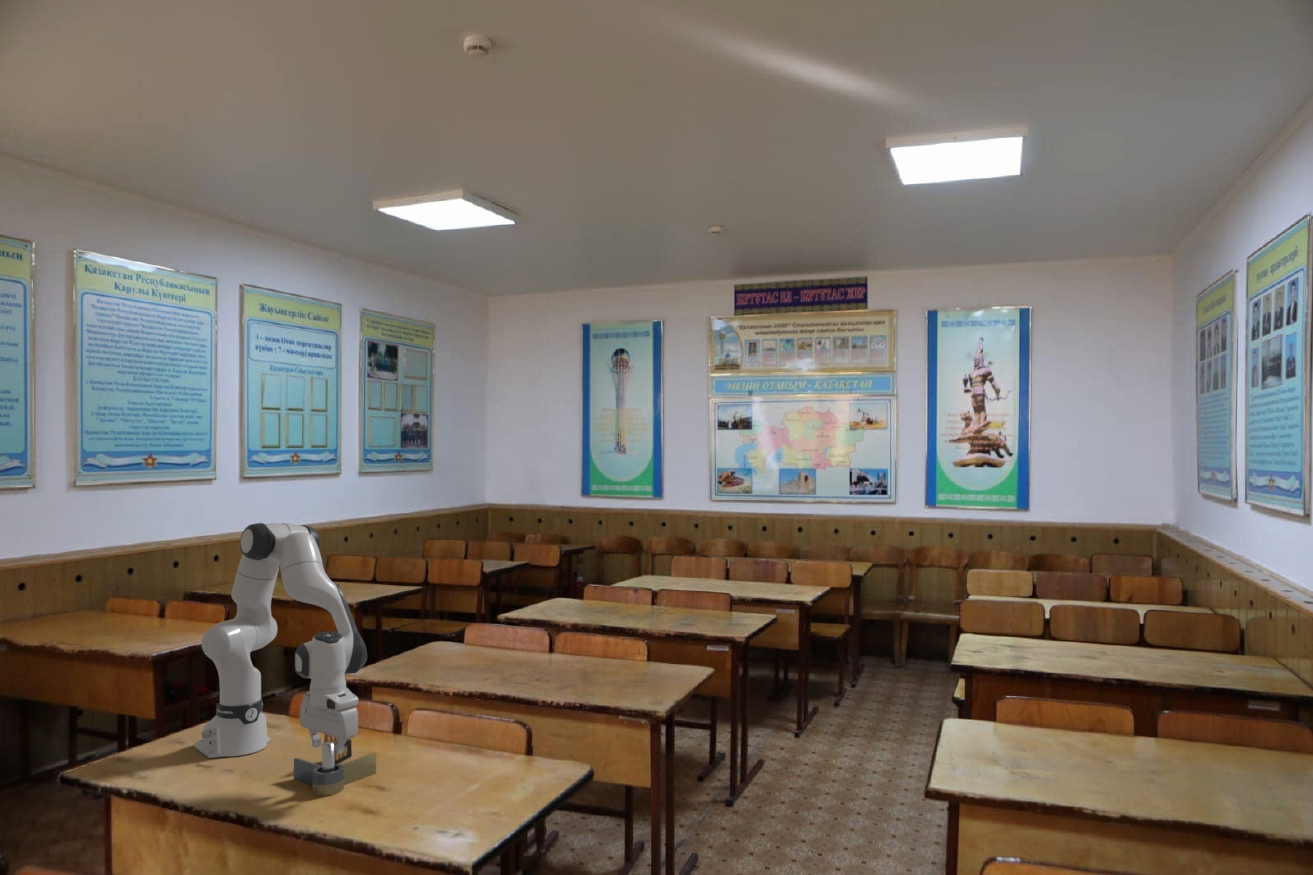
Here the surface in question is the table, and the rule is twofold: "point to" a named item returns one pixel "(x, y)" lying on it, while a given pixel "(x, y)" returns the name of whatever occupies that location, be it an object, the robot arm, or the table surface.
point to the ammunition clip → (347, 749)
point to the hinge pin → (327, 757)
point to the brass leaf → (349, 775)
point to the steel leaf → (316, 773)
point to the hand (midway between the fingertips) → (327, 749)
